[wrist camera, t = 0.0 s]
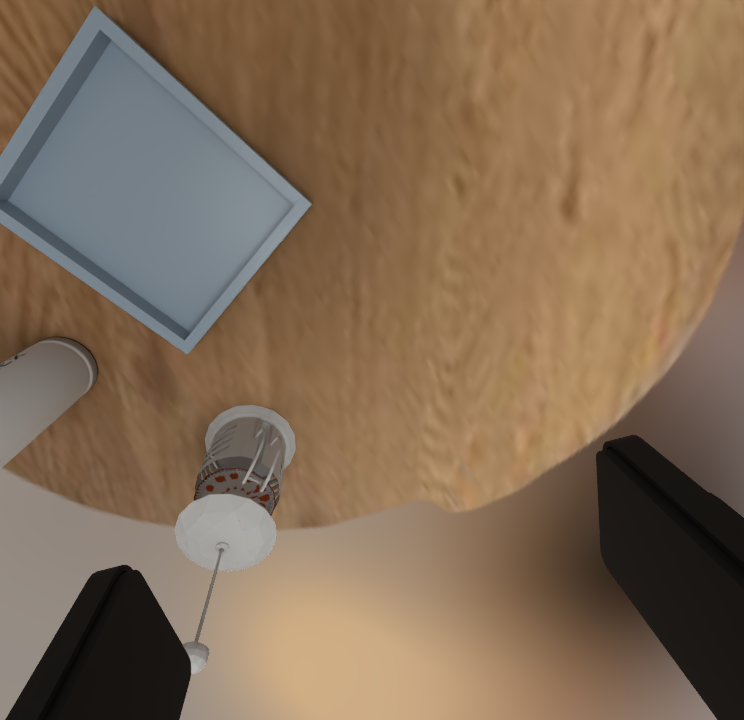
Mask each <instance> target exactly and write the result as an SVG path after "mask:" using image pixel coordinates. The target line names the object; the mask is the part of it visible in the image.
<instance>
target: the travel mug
mask: <svg viewBox="0 0 744 720" xmlns="http://www.w3.org/2000/svg"><path fill="white" fill-rule="evenodd" d="M96 379H97V366H96V362H95V360H94V358H93V356H92V355H91V354H90V352H89V351H88V350H87V349H86V348H85V347H83V346H82V345H80V344H79V343H77V342H75V341H73V340H70V339H67V338H61V337H51V338H47V339H44V340H42V341H39V342H38V343H36V344H34V345H32V346H31V347H29V348H27V349H25V350H23V351H22V352H20V353H18V354H16V355H15V356H13V357H11V358H9V359H8V360H6V361H4V362H2V363H1V364H0V469H1V468H2V467H3V466H4V465H6V464H7V463H8V462H9V461H10V460H11V459H12V458H13V457H15V456H16V455H17V454H18V453H19V452H20V451H21V450H22V449H23V448H25V447H26V446H27V445H28V444H29V443H30V442H31V441H32V440H34V439H35V438H36V437H37V436H38V435H39V434H40V433H41V432H43V431H44V430H45V429H46V428H47V427H48V426H49V425H50V424H51V423H53V422H54V421H55V420H56V419H57V418H58V417H59V416H60V415H62V414H63V413H64V412H65V411H66V410H67V409H68V408H69V407H70V406H72V405H73V404H74V403H75V402H76V401H77V400H78V399H79V398H81V397H82V396H83V395H84V394H85V393H86V392H87V391H88V390H90V389H91V387H92V386H93V385H94V383H95V381H96Z"/></svg>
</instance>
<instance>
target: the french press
mask: <svg viewBox="0 0 744 720" xmlns="http://www.w3.org/2000/svg"><path fill="white" fill-rule="evenodd" d="M205 445H206V451H207V455H208V456H207V455H206V458H205V459H204V462H205V464H204V462H203V466H202V467H201V468H200V471H199V474H198V477H197V481H196V485H195V492H196V493H195V496H194V501H193V502H191V503H190V504H189V505H188V506H187V507H186V508H185V509H184V510H183V511H182V512H181V513H180V514H179V517H178V520H177V523H176V526H175V534H176V539H177V544H178V547H179V548H180V549H181V550H182V552H183V553H184V554H185V555H186V557H187V558H188V559H189V560H191V561H193V562H194V563H196V564H198V565H200V566H201V567H203V568H207V569H212V570H214V574H213V577H212V581H211V584H210V588H209V592H208V595H207V599H206V602H205V606H204V609H203V613H202V617H201V620H200V624H199V627H198V631H197V634H196V638H195V641H194V642H188V643H185V644H183V647H184V648H185V650H186V652H187V654H188V655H189V658H190V661H191V674H196V673H197V672H199V671H201V670H202V669H203V668H204V666H205V664H206V662H207V659H208V655H209V649H208V648H207V646H206V645H204V644H202V643H199V642H198V640H199V636H200V632H201V629H202V625H203V621H204V618H205V614H206V610H207V607H208V603H209V599H210V596H211V592H212V588H213V585H214V581H215V577H216V574H217V571H222V572H224V571H237V570H243V569H246V568H248V567H251V566H253V565H256V564H258V563H259V562H260V561H262V560H263V559H264V558H265V557H266V556H267V555H268V554H269V553H270V552H271V550H272V548H273V546H274V543H275V541H276V539H277V536H276V525H275V522H274V520H273V519H272V517H271V515H272V513H273V510H274V509H275V507H276V505H277V503H278V500H279V497H280V492H279V491H280V489H281V481H282V476H283V470H284V469H285V468H286V467H287V466H288V465H289V464H290V463H291V460H292V458H293V455H294V453H295V450H296V446H295V434H294V433H293V431H292V429H291V427H290V426H289V424H288V422H287V420H285V419H284V418H283V417H281V416H280V415H279V414H277V413H276V412H275V411H273V410H271V409H267V408H264V407H261V406H257V405H243V406H235V407H233V408H231V409H228V410H226V411H224V412H222V413H220V414H219V415H218V416H217V417H216V418H215V419H214V420H213V421H212V423H211V424H210V425H209V427H208V431H207V434H206V437H205ZM207 459H208V461H207ZM212 463H213V464H214V465H215V467H216V468H217V471H216V469H215V467H214V465H213V464H212ZM209 464H210V467H211V469H212V470H213V472H214V473H212V474H211V472H210V470H209V467H208V465H209ZM205 467H206V470H207V473H208V475H207V476H206V474H205V470H204V468H205ZM201 471H202V474H203V478H204V480H203V481H202V480H201ZM280 473H281V475H280ZM274 476H275V477H276V479H274V480H271V481H269V479H270V478H272V477H274ZM277 481H278V483H279V484H277V485H276V486H274V487H270V485H271V484H273V483H275V482H277ZM278 487H279V489H278V492H276V493H274V491H273V490H275V489H277V488H278ZM278 493H279V495H278ZM277 495H278V497H277V499H276V500H275V497H276V496H277Z"/></svg>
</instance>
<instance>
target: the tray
mask: <svg viewBox="0 0 744 720" xmlns="http://www.w3.org/2000/svg"><path fill="white" fill-rule="evenodd" d="M311 205H312V202H311V201H310V200H309V199H308V198H307V197H306V196H305V195H304V194H302V193H301V192H300V191H299V190H298V189H297V188H296V187H295V186H294V185H293V184H292V183H290V182H289V181H288V180H287V179H286V178H285V177H284V176H283V175H282V174H281V173H280V172H279V171H277V170H276V169H275V168H274V167H273V166H272V165H271V164H270V163H269V162H268V161H267V160H265V159H264V158H263V157H262V156H261V155H260V154H259V153H258V152H257V151H256V150H255V149H253V148H252V147H251V146H250V145H249V144H248V143H247V142H246V141H245V140H244V139H243V138H241V137H240V136H239V135H238V134H237V133H236V132H235V131H234V130H233V129H232V128H231V127H229V126H228V125H227V124H226V123H225V122H224V121H223V120H222V119H221V118H220V117H219V116H218V115H216V114H215V113H214V112H213V111H212V110H211V109H210V108H209V107H208V106H207V105H206V104H204V103H203V102H202V101H201V100H200V99H199V98H198V97H197V96H196V95H195V94H194V93H192V92H191V91H190V90H189V89H188V88H187V87H186V86H185V85H184V84H183V83H182V82H180V81H179V80H178V79H177V78H176V77H175V76H174V75H173V74H172V73H171V72H170V71H168V70H167V69H166V68H165V67H164V66H163V65H162V64H161V63H160V62H159V61H158V60H157V59H155V58H154V57H153V56H152V55H151V54H150V53H149V52H148V51H147V50H146V49H145V48H143V47H142V46H141V45H140V44H139V43H138V42H137V41H136V40H135V39H134V38H133V37H131V36H130V35H129V34H128V33H127V32H126V31H125V30H124V29H123V28H122V27H121V26H119V25H118V24H117V23H116V22H115V21H114V20H113V19H112V18H110V17H109V16H108V15H106V14H105V13H104V12H102V11H101V10H100V9H99V8H97V7H96V6H94V7H93V9H92V11H91V12H90V14H89V15H88V17H87V19H86V20H85V22H84V23H83V25H82V27H81V28H80V30H79V31H78V33H77V35H76V36H75V38H74V39H73V41H72V43H71V44H70V46H69V47H68V49H67V51H66V52H65V54H64V55H63V57H62V59H61V60H60V62H59V63H58V65H57V67H56V68H55V70H54V71H53V73H52V75H51V76H50V78H49V79H48V81H47V83H46V84H45V86H44V87H43V89H42V91H41V92H40V94H39V95H38V97H37V98H36V100H35V102H34V103H33V105H32V106H31V108H30V110H29V111H28V113H27V114H26V116H25V118H24V119H23V121H22V122H21V124H20V126H19V127H18V129H17V130H16V132H15V134H14V135H13V137H12V138H11V140H10V142H9V143H8V145H7V146H6V148H5V150H4V151H3V153H2V154H1V156H0V223H1V224H2V225H4V226H5V227H7V228H8V229H9V230H11V231H12V232H14V233H15V234H17V235H18V236H19V237H21V238H22V239H24V240H25V241H27V242H28V243H29V244H31V245H32V246H34V247H35V248H36V249H38V250H39V251H41V252H42V253H44V254H45V255H46V256H48V257H49V258H51V259H52V260H54V261H55V262H56V263H58V264H59V265H61V266H62V267H63V268H65V269H66V270H68V271H69V272H71V273H72V274H73V275H75V276H76V277H78V278H79V279H81V280H82V281H83V282H85V283H86V284H88V285H89V286H90V287H92V288H93V289H95V290H96V291H98V292H99V293H100V294H102V295H103V296H105V297H106V298H108V299H109V300H110V301H112V302H113V303H115V304H116V305H117V306H119V307H120V308H122V309H123V310H125V311H126V312H127V313H129V314H130V315H132V316H133V317H135V318H136V319H137V320H139V321H140V322H142V323H143V324H144V325H146V326H147V327H149V328H150V329H152V330H153V331H154V332H156V333H157V334H159V335H160V336H162V337H163V338H164V339H166V340H167V341H169V342H170V343H171V344H173V345H174V346H176V347H177V348H179V349H180V350H181V351H183V352H184V353H186V354H187V355H188V354H189V352H190V351H191V350H192V349H193V348H194V346H195V345H196V344H197V343H198V342H199V340H200V339H201V338H202V337H203V335H204V334H205V333H206V332H207V331H208V329H209V328H210V327H211V326H212V325H213V323H214V322H215V321H216V320H217V319H218V317H219V316H220V315H221V314H222V312H223V311H224V310H225V309H226V308H227V306H228V305H229V304H230V303H231V302H232V300H233V299H234V298H235V297H236V296H237V294H238V293H239V292H240V291H241V289H242V288H243V287H244V286H245V285H246V283H247V282H248V281H249V280H250V279H251V277H252V276H253V275H254V274H255V273H256V271H257V270H258V269H259V268H260V266H261V265H262V264H263V263H264V262H265V260H266V259H267V258H268V257H269V256H270V254H271V253H272V252H273V251H274V250H275V248H276V247H277V246H278V245H279V243H280V242H281V241H282V240H283V239H284V237H285V236H286V235H287V234H288V233H289V231H290V230H291V229H292V228H293V227H294V225H295V224H296V223H297V222H298V220H299V219H300V218H301V217H302V216H303V214H304V213H305V212H306V211H307V210H308V208H309V207H310V206H311Z"/></svg>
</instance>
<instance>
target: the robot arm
mask: <svg viewBox="0 0 744 720" xmlns="http://www.w3.org/2000/svg"><path fill="white" fill-rule="evenodd" d="M596 463H597V485H598V505H599V527H600V545H601V546H600V547H601V555H602V558H603V561H604V563H605V565H606V567H607V569H608V570H609V572H610V573H611V574H612V576H613V577H614V579H615V580H616V581H617V583H618V584H619V585H620V587H621V588H622V589H623V591H624V592H625V594H626V595H627V596H628V598H629V599H630V600H631V602H632V603H633V605H634V606H635V607H636V609H637V610H638V611H639V613H640V614H641V615H642V617H643V618H644V620H645V621H646V622H647V624H648V625H649V626H650V628H651V629H652V631H653V632H654V633H655V635H656V636H657V637H658V639H659V640H660V642H661V643H662V644H663V646H664V647H665V648H666V650H667V651H668V652H669V654H670V655H671V657H672V658H673V659H674V660H675V662H676V663H677V665H678V666H679V668H680V669H681V670H682V672H683V673H684V674H685V676H686V677H687V678H688V680H689V681H690V683H691V684H692V685H693V687H694V688H695V689H696V691H697V692H698V694H699V695H700V696H701V698H702V699H703V700H704V702H705V703H706V704H707V706H708V707H709V709H710V710H711V711H712V713H713V714H714V715H715V717H716V718H717V720H744V518H743V517H742V516H741V515H739V514H738V513H737V512H736V511H734V510H733V509H732V508H731V507H730V506H728V505H727V504H726V503H724V502H723V501H722V500H721V499H719V498H718V497H716V496H714V495H713V494H712V493H709V492H707V491H705V490H704V489H703V488H702V487H701V486H699V485H698V484H697V483H696V482H694V481H693V480H692V479H691V478H689V477H688V476H687V475H686V474H685V473H683V472H682V471H681V470H680V469H678V468H677V467H676V466H675V465H673V464H672V463H671V462H670V461H669V460H667V459H666V458H665V457H664V456H662V455H661V454H660V453H659V452H657V451H656V450H655V449H654V448H653V447H651V446H650V445H649V444H648V443H646V442H645V441H644V440H643V439H642V438H640V437H638V436H636V435H630V436H627V437H623V438H619V439H615V440H611V441H607V442H605V443H604V445H603V450H602V451H599V452H597V455H596ZM190 677H191V661H190V658H189V655H188V654H187V652H186V650H185V648H184V647H183V645H182V643H181V641H180V640H179V638H178V636H177V635H176V633H175V631H174V629H173V628H172V626H171V624H170V623H169V621H168V619H167V617H166V616H165V614H164V612H163V610H162V609H161V607H160V605H159V604H158V602H157V600H156V598H155V597H154V595H153V593H152V591H151V590H150V588H149V586H148V585H147V583H146V581H145V579H144V577H143V576H142V574H141V573H140V572H139V571H138V570H132V568H131V567H130V566H128V565H121V566H118V567H113V568H109V569H106V570H101V571H98V572H96V573H94V574H92V575H91V576H90V578H89V579H88V581H87V582H86V584H85V586H84V588H83V589H82V591H81V593H80V594H79V596H78V598H77V599H76V601H75V603H74V604H73V606H72V608H71V610H70V612H69V613H68V614H67V616H66V618H65V620H64V621H63V623H62V625H61V626H60V628H59V630H58V631H57V633H56V635H55V637H54V638H53V640H52V642H51V643H50V645H49V647H48V649H47V650H46V652H45V653H44V655H43V657H42V659H41V660H40V662H39V664H38V665H37V667H36V669H35V670H34V672H33V674H32V676H31V677H30V679H29V681H28V682H27V684H26V686H25V688H24V689H23V691H22V692H21V694H20V696H19V698H18V699H17V701H16V703H15V704H14V706H13V708H12V709H11V711H10V713H9V715H8V716H7V718H6V720H179V718H180V715H181V711H182V707H183V703H184V699H185V696H186V692H187V689H188V685H189V681H190Z"/></svg>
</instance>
